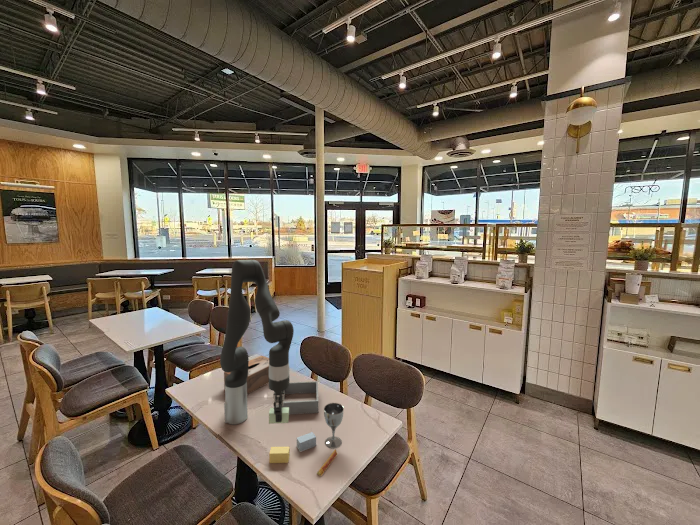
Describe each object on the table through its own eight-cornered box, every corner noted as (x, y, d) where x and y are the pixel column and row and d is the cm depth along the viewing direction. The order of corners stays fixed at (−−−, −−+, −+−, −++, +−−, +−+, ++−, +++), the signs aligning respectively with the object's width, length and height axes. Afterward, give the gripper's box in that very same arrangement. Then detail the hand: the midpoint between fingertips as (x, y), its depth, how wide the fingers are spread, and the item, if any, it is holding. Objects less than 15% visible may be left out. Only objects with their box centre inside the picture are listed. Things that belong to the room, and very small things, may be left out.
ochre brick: (269, 463, 113) (269, 453, 113) (271, 456, 117) (271, 446, 116) (288, 463, 114) (288, 453, 113) (289, 456, 117) (289, 446, 117)
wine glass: (323, 436, 128) (324, 403, 126) (342, 435, 129) (343, 402, 127) (323, 449, 120) (324, 414, 119) (343, 448, 121) (344, 414, 119)
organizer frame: (278, 415, 142) (278, 403, 141) (282, 393, 160) (282, 382, 160) (318, 412, 144) (318, 400, 144) (317, 391, 163) (317, 381, 162)
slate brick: (300, 452, 119) (300, 443, 118) (296, 446, 122) (296, 437, 121) (316, 446, 123) (316, 436, 122) (312, 440, 126) (312, 431, 125)
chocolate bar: (315, 474, 109) (315, 469, 108) (332, 453, 119) (332, 447, 119) (321, 477, 108) (321, 471, 107) (338, 455, 118) (338, 450, 118)
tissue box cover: (241, 397, 156) (241, 379, 155) (224, 389, 164) (223, 372, 162) (278, 377, 178) (278, 361, 176) (261, 371, 185) (261, 355, 184)
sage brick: (268, 423, 111) (268, 413, 111) (270, 417, 115) (270, 407, 114) (288, 422, 112) (288, 412, 112) (288, 417, 115) (289, 407, 115)
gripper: (271, 366, 118) (271, 407, 120) (265, 384, 104) (266, 431, 106) (290, 365, 119) (290, 406, 121) (288, 384, 105) (288, 430, 107)
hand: (279, 417), depth 113 cm, fingers closed on sage brick, 3 cm apart
